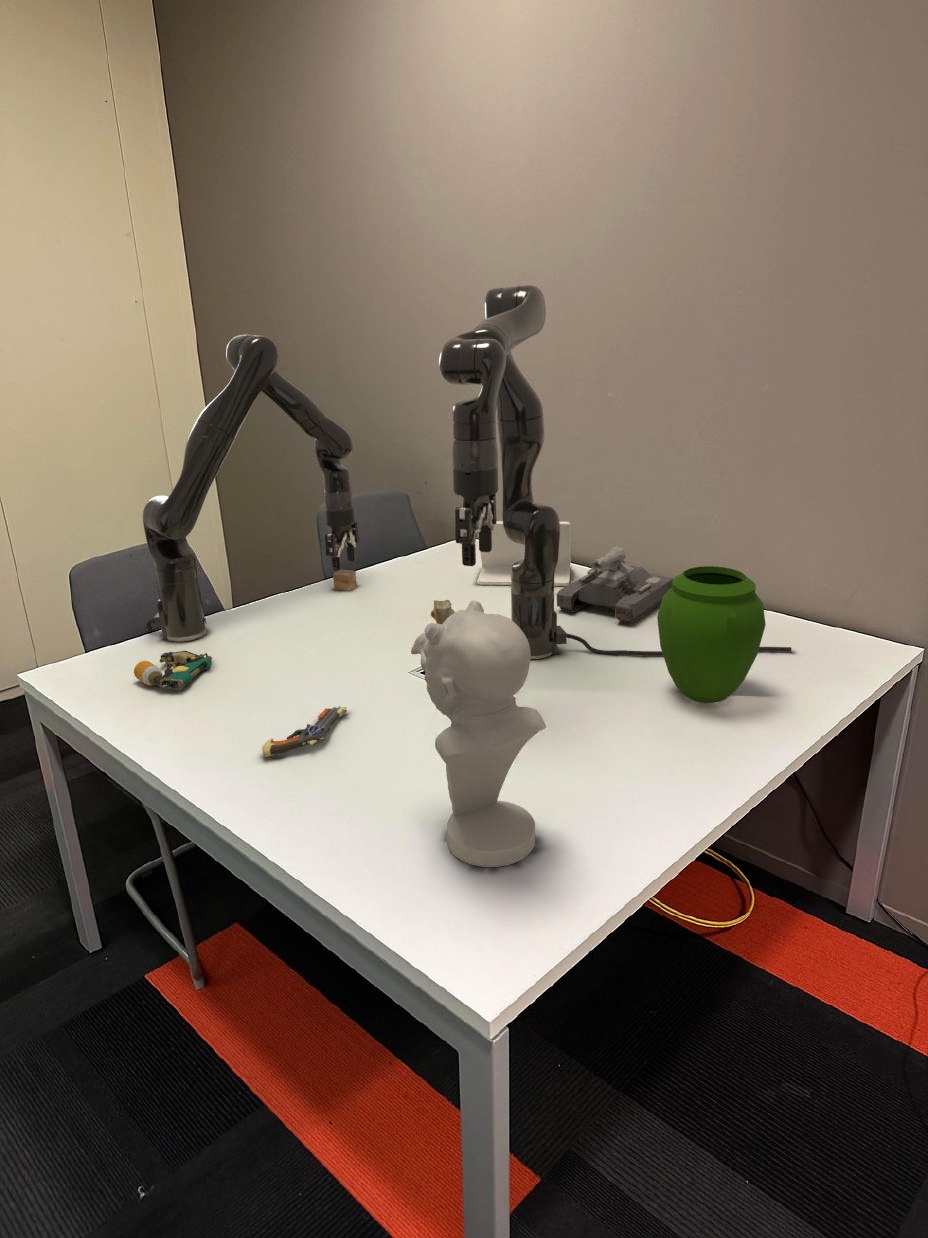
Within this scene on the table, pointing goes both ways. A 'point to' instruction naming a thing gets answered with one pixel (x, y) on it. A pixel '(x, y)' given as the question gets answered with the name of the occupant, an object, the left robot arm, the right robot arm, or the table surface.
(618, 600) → the toy
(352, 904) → the table surface
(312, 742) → the toy gun
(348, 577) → the block
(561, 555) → the tablet stand
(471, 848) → the bust sculpture
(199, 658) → the spray gun
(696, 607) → the vase
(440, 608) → the sculpture
